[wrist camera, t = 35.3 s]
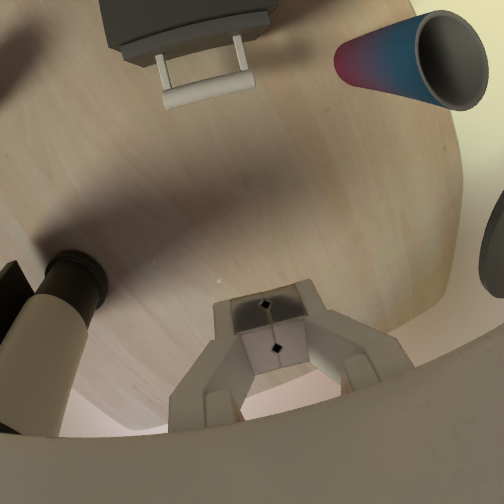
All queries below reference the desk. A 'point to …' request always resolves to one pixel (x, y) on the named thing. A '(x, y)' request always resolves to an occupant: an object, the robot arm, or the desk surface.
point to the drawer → (196, 40)
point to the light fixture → (44, 339)
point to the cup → (419, 61)
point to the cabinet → (166, 15)
